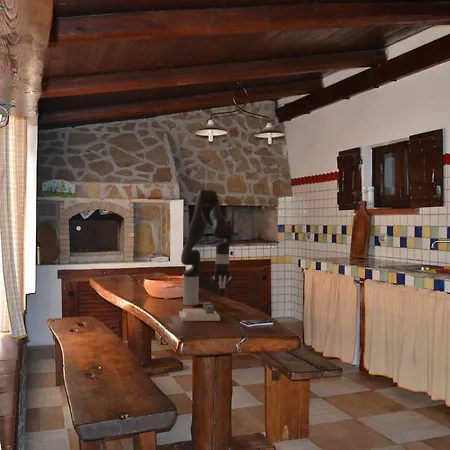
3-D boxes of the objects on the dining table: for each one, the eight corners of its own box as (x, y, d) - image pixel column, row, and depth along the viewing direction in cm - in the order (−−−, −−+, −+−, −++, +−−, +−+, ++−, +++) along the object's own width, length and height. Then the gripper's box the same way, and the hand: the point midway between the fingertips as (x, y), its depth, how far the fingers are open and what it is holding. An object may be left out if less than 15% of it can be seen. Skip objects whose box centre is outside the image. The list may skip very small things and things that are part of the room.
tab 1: (203, 311, 300) (203, 302, 300) (210, 311, 301) (210, 302, 301) (204, 312, 296) (204, 303, 296) (211, 312, 297) (211, 303, 297)
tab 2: (205, 314, 291) (205, 305, 291) (212, 314, 292) (213, 305, 292) (206, 316, 287) (206, 306, 287) (214, 315, 288) (214, 306, 288)
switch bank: (179, 314, 300) (179, 308, 299) (215, 314, 303) (215, 308, 303) (181, 321, 284) (182, 314, 284) (220, 320, 287) (220, 313, 287)
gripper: (233, 262, 295) (232, 294, 295) (208, 261, 293) (208, 294, 293) (235, 263, 288) (235, 296, 288) (211, 263, 285) (210, 296, 286)
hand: (221, 295), depth 290 cm, fingers closed
